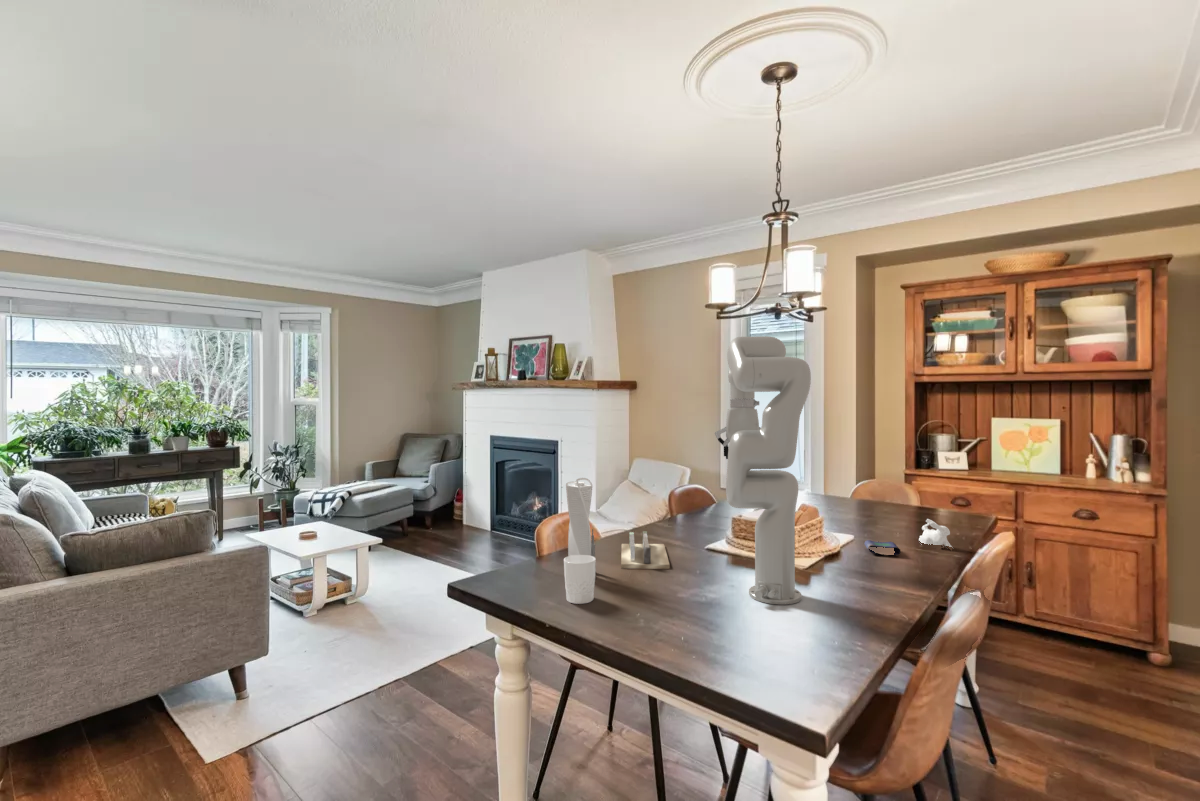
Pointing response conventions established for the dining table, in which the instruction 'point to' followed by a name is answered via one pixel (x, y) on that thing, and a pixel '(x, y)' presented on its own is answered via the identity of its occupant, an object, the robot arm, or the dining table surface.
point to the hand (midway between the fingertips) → (742, 458)
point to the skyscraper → (580, 519)
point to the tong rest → (645, 556)
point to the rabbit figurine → (934, 534)
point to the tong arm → (632, 546)
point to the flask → (882, 544)
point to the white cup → (579, 578)
